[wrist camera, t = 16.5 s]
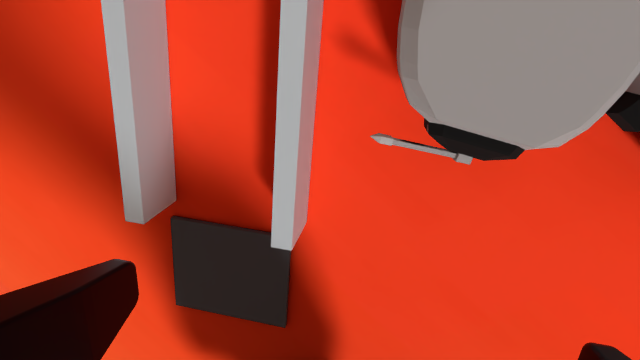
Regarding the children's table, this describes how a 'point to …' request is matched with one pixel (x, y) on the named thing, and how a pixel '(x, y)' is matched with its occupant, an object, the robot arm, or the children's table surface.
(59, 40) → the children's table surface
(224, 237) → the mat
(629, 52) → the robot toy
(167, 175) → the channel
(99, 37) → the children's table surface
